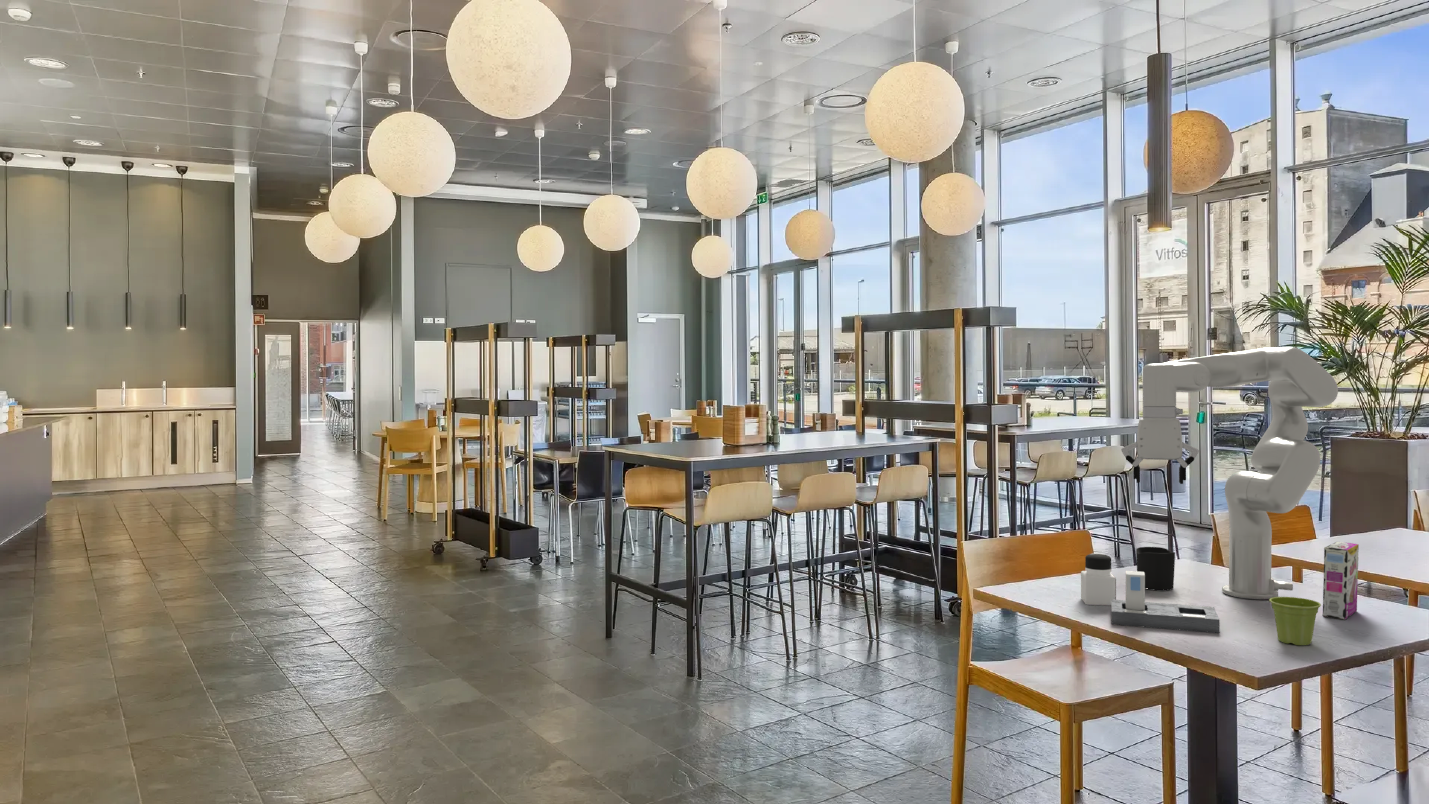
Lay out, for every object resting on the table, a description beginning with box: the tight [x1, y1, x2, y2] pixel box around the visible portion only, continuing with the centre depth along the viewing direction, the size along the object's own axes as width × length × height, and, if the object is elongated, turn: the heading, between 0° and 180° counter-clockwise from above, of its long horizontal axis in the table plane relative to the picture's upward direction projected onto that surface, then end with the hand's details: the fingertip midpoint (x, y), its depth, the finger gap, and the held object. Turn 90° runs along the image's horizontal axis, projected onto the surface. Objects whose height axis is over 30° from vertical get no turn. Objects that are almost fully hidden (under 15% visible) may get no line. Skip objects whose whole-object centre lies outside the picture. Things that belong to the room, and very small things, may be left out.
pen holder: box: [1135, 546, 1176, 591], centre depth 255 cm, size 9×9×10 cm
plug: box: [1125, 570, 1146, 610], centre depth 223 cm, size 4×5×11 cm
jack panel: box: [1110, 599, 1221, 634], centre depth 221 cm, size 22×12×3 cm, turn 68°
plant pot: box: [1268, 596, 1322, 646], centre depth 204 cm, size 9×9×9 cm
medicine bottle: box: [1080, 553, 1117, 607], centre depth 240 cm, size 7×7×12 cm
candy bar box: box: [1322, 541, 1360, 620], centre depth 225 cm, size 11×5×16 cm, turn 134°
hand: (1159, 482), depth 236 cm, fingers open, 9 cm apart
